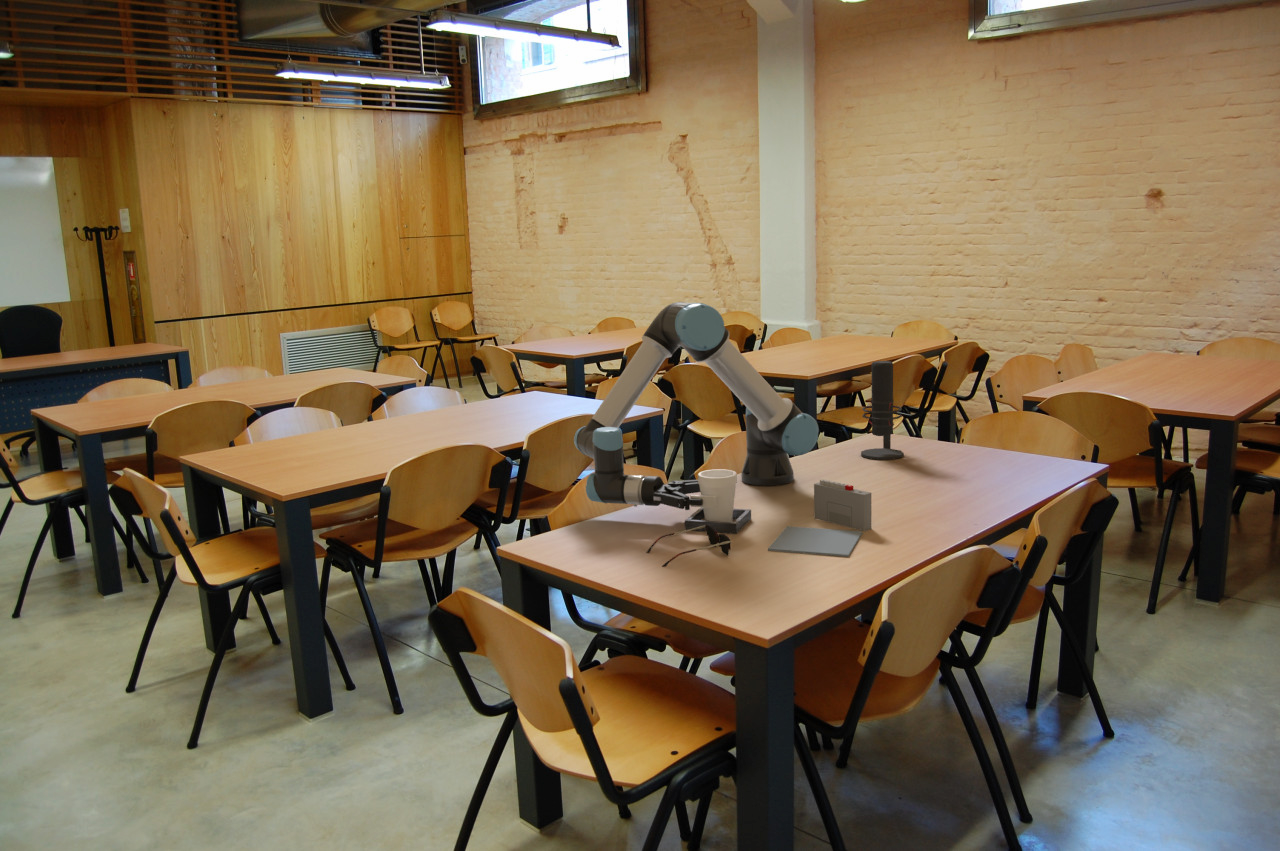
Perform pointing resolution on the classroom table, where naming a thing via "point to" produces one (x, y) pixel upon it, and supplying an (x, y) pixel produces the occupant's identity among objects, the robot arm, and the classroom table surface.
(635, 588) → the classroom table surface
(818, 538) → the rubber mat
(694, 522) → the holder collar
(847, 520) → the cassette player
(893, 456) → the microphone
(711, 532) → the sunglasses
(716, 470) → the foam cup
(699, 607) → the classroom table surface
